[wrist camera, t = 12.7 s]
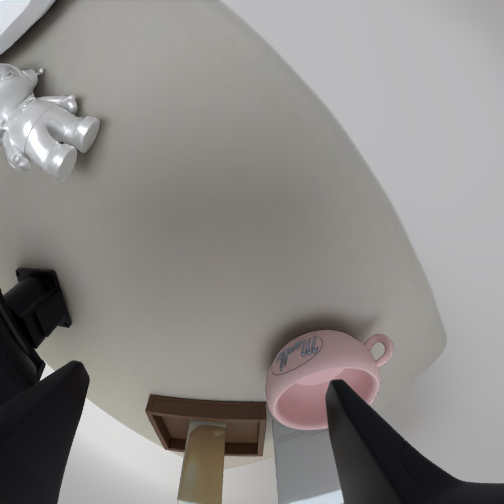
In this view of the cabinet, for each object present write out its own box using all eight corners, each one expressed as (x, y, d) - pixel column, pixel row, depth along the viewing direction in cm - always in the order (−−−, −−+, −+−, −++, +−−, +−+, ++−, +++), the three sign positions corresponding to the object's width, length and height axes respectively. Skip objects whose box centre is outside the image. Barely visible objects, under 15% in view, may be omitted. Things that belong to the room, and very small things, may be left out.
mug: (297, 399, 27) (304, 442, 22) (242, 352, 24) (241, 401, 19) (392, 345, 25) (415, 385, 19) (356, 282, 22) (384, 323, 16)
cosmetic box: (221, 439, 30) (216, 517, 18) (189, 433, 29) (177, 511, 18) (228, 416, 27) (223, 508, 16) (191, 410, 27) (176, 501, 16)
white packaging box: (294, 433, 30) (304, 513, 19) (269, 410, 28) (275, 506, 16) (345, 414, 29) (368, 495, 17) (328, 388, 27) (353, 486, 15)
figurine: (27, 194, 10) (-75, 113, 4) (47, 231, 16) (-50, 158, 10) (128, 78, 15) (13, 28, 9) (113, 133, 21) (16, 80, 15)
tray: (167, 435, 31) (164, 449, 28) (150, 394, 27) (144, 410, 25) (261, 441, 31) (262, 456, 29) (265, 401, 27) (266, 419, 25)
